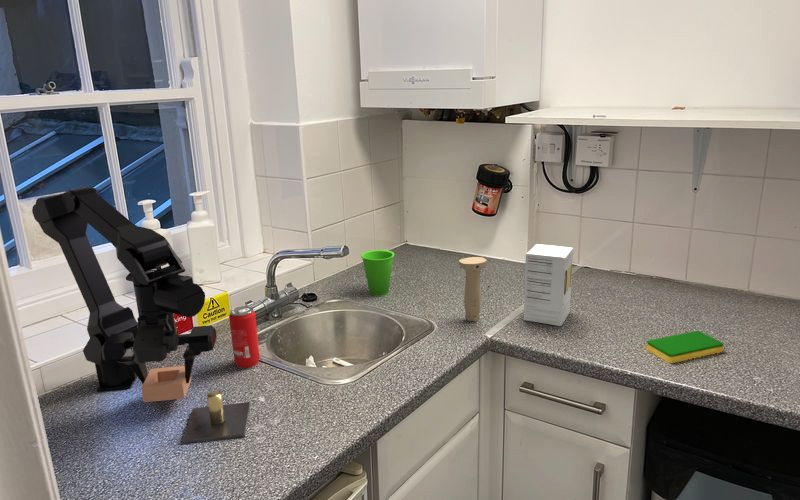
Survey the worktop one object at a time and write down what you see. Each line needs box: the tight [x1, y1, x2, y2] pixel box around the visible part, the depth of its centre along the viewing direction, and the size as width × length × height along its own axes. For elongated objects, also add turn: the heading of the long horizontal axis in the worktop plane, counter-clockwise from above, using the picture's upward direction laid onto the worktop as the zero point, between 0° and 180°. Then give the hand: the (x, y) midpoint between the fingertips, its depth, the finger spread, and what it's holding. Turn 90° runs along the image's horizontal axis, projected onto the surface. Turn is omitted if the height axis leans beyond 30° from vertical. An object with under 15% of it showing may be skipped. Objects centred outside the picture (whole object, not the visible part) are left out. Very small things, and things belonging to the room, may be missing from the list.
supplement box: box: [523, 243, 574, 327], centre depth 141 cm, size 10×9×17 cm
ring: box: [140, 365, 192, 403], centre depth 110 cm, size 7×7×3 cm
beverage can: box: [228, 305, 260, 369], centre depth 123 cm, size 5×5×12 cm
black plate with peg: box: [182, 390, 251, 444], centre depth 103 cm, size 10×10×6 cm
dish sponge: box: [645, 330, 724, 364], centre depth 125 cm, size 7×14×2 cm, turn 109°
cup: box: [360, 249, 395, 297], centre depth 161 cm, size 9×9×11 cm
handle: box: [458, 256, 488, 323], centre depth 141 cm, size 5×6×15 cm
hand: (167, 384), depth 110 cm, fingers closed on ring, 7 cm apart
